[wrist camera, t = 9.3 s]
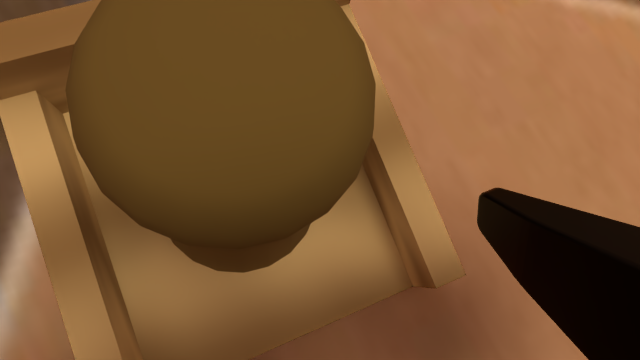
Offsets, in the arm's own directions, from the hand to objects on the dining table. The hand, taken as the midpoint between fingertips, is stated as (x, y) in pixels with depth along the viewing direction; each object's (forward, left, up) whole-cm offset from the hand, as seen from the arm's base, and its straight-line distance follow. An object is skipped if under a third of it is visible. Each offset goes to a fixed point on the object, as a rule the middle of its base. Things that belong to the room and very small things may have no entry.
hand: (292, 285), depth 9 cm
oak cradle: (+2, +3, -9) cm, 9 cm away
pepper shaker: (+2, +3, -8) cm, 9 cm away
